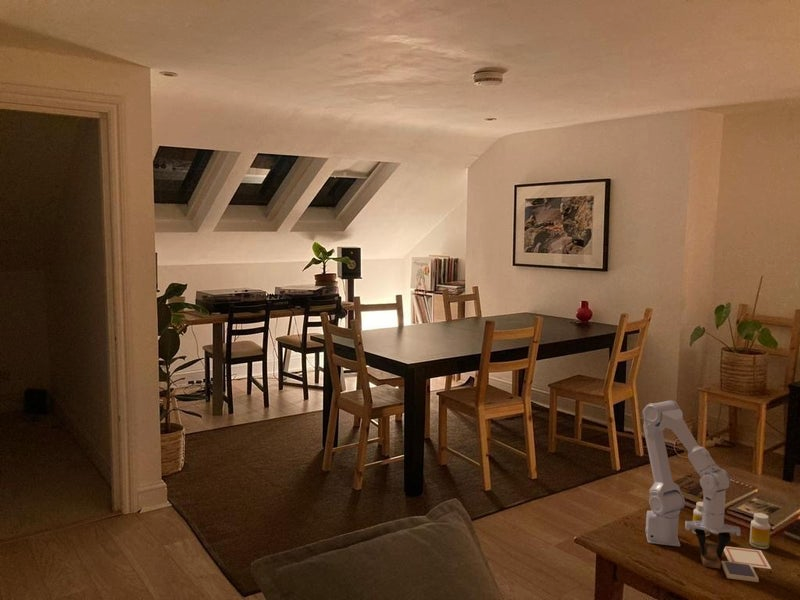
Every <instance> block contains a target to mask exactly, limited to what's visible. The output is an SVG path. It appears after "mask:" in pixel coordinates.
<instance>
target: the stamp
mask: <svg viewBox="0 0 800 600" xmlns="http://www.w3.org/2000/svg"><path fill="white" fill-rule="evenodd" d="M717 548H718V543H715V542H713V541H705V555H704V556H702V554H701V553H700V561H701V564H702V567H704V568H705V567H707V568H715V569H721V566H722V565H721V560H720V558H719V557H718V555H717Z"/></svg>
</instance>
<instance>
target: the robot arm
mask: <svg viewBox="0 0 800 600" xmlns="http://www.w3.org/2000/svg"><path fill="white" fill-rule="evenodd" d="M641 413H642V418H643V425H642V427H643V433H644V438H645V443H646V448H647V453H648V458H649V463H650V468H651V472H652V477H653V484H652V486H651V487H650V488H649V492H648V493H649V500H648V502H649V504H648V505H649V506H650V509H651V510H647V511H646V515H645V516H646V518H645V530H644V531H645V535H646V536H645V537H646V540H647V543H648V544H654V545H662V546H663V545H665V546H672V547H681V543H680V540H679V537H678V534H679V533H678V532H679V517H680V516H679V514H680V513H681V510H682V509H683V508H684V507H685V505H686V501H685V497H684V495H683V493H682V492H681V488H680V486H679V485H678V484H676V483H677V482H674V481H673V476H672V471H671V466H670V461H669V457H668V451H667V448H666V443H665V438H664V432H663V431H665V429H668V430H671V431H672V433H674V435H675V436H676V437H677V438H678V440H679V441H680V442H681V444H682V445H683V446H684V447H685V450H687V458H688V459H687V460H689V461H690V464H691V465H692V466H693V468H694V470H695V471H696V472H697V474H698V475H699V476H700V478H699V484H700V486H701V488H702V495H703V499H702V500H703V501H702V502H703V513H702V521H693V520H685V522H684V524H685V525H684V527H685V530H686V531H691V530H695V532H696V534H697V535H696V534H695V535H696V537H697V540H698V543H699V548H700V555H701V554H702V556H704V555H705V543H706V539H707V536H705V532H704V531H709V532H710V534H711V533H712V534H717V555H718V557H719V559H720V558H722V555H723V553H724V548H725V547H726V546H727V545H728V544H729V542H731V539H732V538H731V535H735V536H737V537H741V528H740V526H734V525H730V524H726V523H725V511H726V509H725V508H726V492H727V489H728V488H730V486H731V483H732V482H731V481H732V480H731V477H730V475H729V472H727V470H725V469H723V468H721V467H720V466H718V465H717V464H716V461H714V459H713V458H712V456H711V454H710V452H709V450H708V449H706V447H704V446H701V445H699V444H698V443H697V440H696V439H695V437H694V435H693V433H692V431H691V430H690V429H689V427H688V425H687V423H686V421H685V420H684V418H683V417H684V415H683V410H681V408H680V405H678V403H677V402H676V401H674V400H671V399H669V400H665V401H660V402H654V403H652V402H651V403H648V404H646V405H645V407H644V408H643V409H642V412H641Z"/></svg>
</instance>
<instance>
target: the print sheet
mask: <svg viewBox="0 0 800 600" xmlns="http://www.w3.org/2000/svg"><path fill="white" fill-rule="evenodd" d="M723 553H724V554H725V557H726V559H727V561H728V562H736V563H744V564H751V565H752V567H753V568H758V569H763V570H764V569H766V570H772V567H771V565H770V564H769V562H768V560H767V558H766V557H765V555H764V553H763V552H762V549H760V550H759V549H751V548H743V547H735V546H734V547H733V546H727V545H726V547H725V548H724V550H723Z"/></svg>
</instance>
